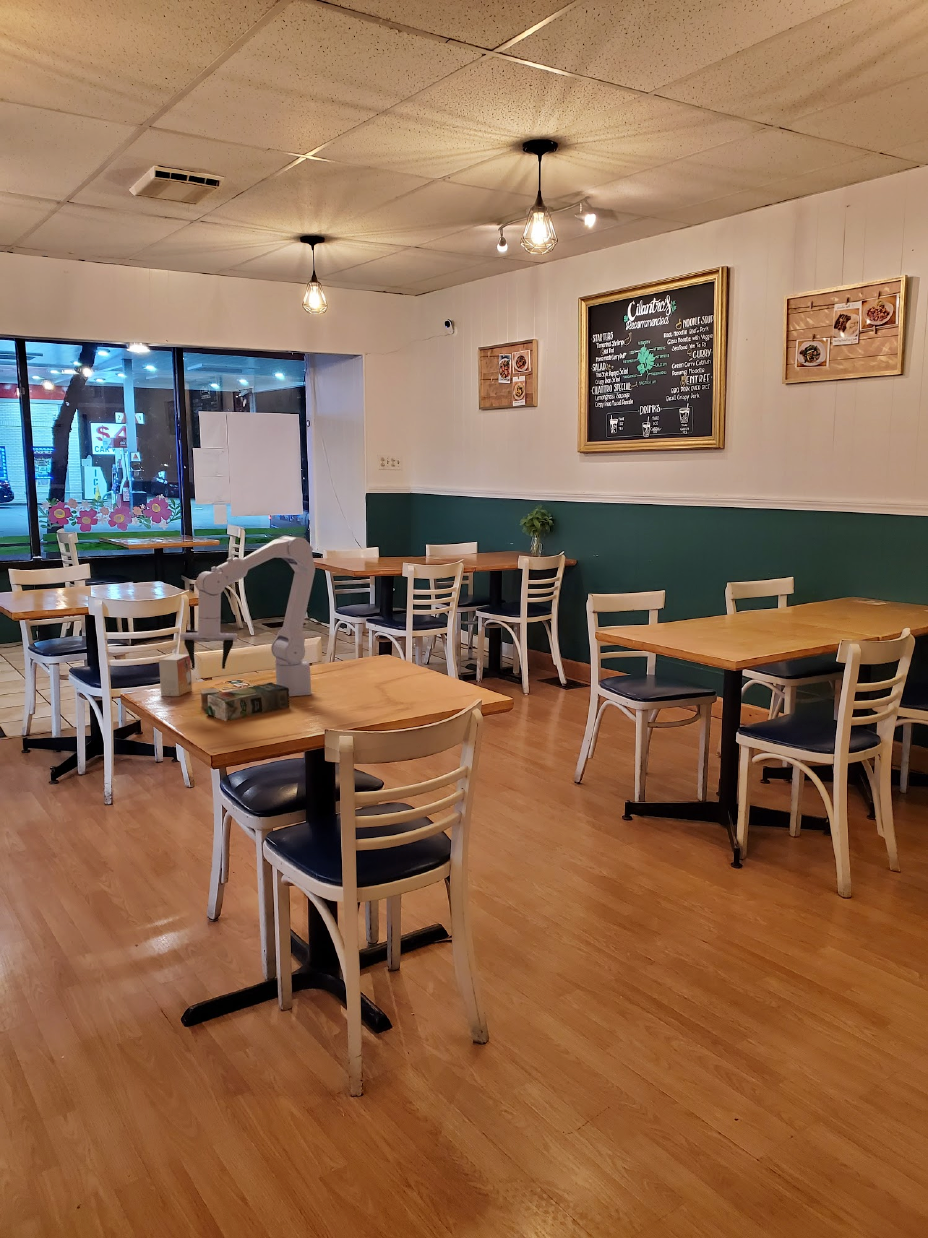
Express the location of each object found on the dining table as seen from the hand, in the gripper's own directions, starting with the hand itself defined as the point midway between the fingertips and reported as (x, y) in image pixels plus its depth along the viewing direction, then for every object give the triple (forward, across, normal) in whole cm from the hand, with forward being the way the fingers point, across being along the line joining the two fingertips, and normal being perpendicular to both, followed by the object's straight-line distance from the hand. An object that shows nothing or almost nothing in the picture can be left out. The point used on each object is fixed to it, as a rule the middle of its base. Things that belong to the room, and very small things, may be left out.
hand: (208, 668), depth 247 cm
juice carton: (+11, +10, -7) cm, 16 cm away
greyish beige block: (+11, +1, 0) cm, 11 cm away
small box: (+11, -8, +18) cm, 23 cm away
